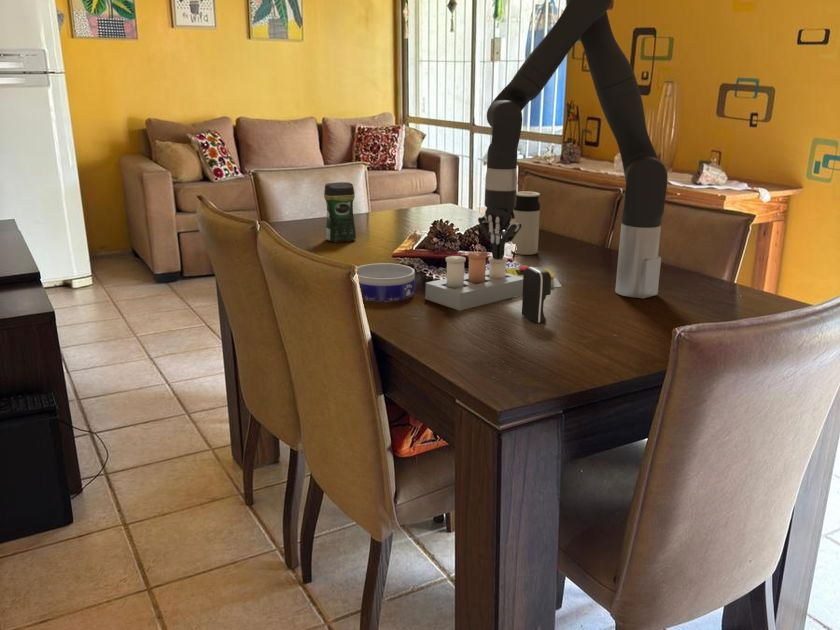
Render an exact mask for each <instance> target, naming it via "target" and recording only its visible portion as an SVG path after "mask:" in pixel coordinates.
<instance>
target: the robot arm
mask: <svg viewBox="0 0 840 630" xmlns="http://www.w3.org/2000/svg"><path fill="white" fill-rule="evenodd" d="M612 2H613V0H565V8H564V9H563V11H562V13H561V14H560V16H559V17H558V19H557V21H555V23H554V25H553V26H552V27H551V28H550V30H549V31H548V33H547V34H546V35H545V36H544V37H543V38H542V40H541V41H540V42H539V43H538V44H537V45H536V47H534V48H533V50H532V51H531V53H530V54H529V56H528V57H526V59H525V60H524V62H523V63H522V64H521V66H520V67H519V69H518V70H517V71H516V73H515V75H514V76H513V77H512V79H511V81H509V83H508V84H507V85H506V86H504V88H503V89H502V90H501V91H500V92H499V93H498V94H497V95H496V97H495V98H494V99H493V101H492V102H491V104H490V105H489V106H488V109H487V111H486V121H487V123H488V125H489V126H490V127H491V128H492V130H491V131H492V132H491V142H490V144H489V145H488V148H487V156H486V158H487V159H486V173H485V179H484V181H485V182H484V183H485V184H484V186H485V187H484V204H483V205H484V206H485V208H486V209H485V212H484V215H483V216H481V217H479V218H478V219H477V222H478V223H479V226H480V228H481V230H482V232H483V235H484V236H485V239H486V240H489V241H490V242H491V257H493V258H494V259H502V258H503V257H504V256H505V250H506V249H505V248H506V247H505V246H506V244H507V243H511V242H512V240H513V238H514V237H515V235H516V234H517V233H518V231H519V230H520V229H521V227H522V225H521V224H520V223H518V224H517V222H516V221H515V220H514V218H515V215H514V211H513V210H514V208H515V206H516V195H517V192H518V190H517V189H518V171H517V170H518V146H519V144H520V143H519V142H520V140H521V139H520V138H521V132H522V129H523V110H524V108H525V107H526V106H527V104H528V103H530V102H531V101H533V100H535V98H537V97H538V96H539V95H540V93H541V92H542V91H543V89H544V88H545V86H546V85H547V84H548V82H549V81H550V80H551V78H553V77H552V76H553V75H554V74H555V73H556V71H557V70H558V68H559V67H560V65H561V64H562V63H563V61H564V59H565V58H566V56H567V55H568V54H569V53H570V51H571V50H572V48H573V47H574V46H575V44H576V43H577V42H578V40H580V42H581V45H582V48H583V50H584V51H583V52H584V53H585V57H586V61H587V62H586V63H587V66H588V69H589V73H590V75H591V79H592V82H593V86H594V89H595V92H596V95H597V99H598V101H599V104H600V107H601V109H602V112H603V114H604V117H605V120H606V122H607V124H608V126H609V128H610V131H611V132H612V134H613V137H614V138H615V142H616V144H617V147H618V150H619V155H620V160H621V163H622V168H623V175H624V179H625V193H624V202H623V209H622V214H621V226H620V235H619V247H618V257H617V267H616V280H615V281H616V282H615V290H614V291H615V293H616V294H618V295H620V296H622V297H629V298H639V299H646V298H650V297H654V296H657V295H658V293H659V283H660V281H659V280H660V274H661V273H660V272H661V263H662V257H661V256H659V249H660V239H661V231H662V230H661V228H662V227H661V226H662V220H663V216H664V213H665V212H664V211H665V205H666V198H667V189H668V171H667V168H666V166H665V165H664V164H663V162H662V161H660V159H659V157H658V155H657V153H656V150H655V147H654V146H653V143H652V141H651V138H650V135H649V133H648V130H647V129H648V128H647V124H646V115H645V110H644V105H643V104H644V103H643V100H642V99H643V98H642V95H641V90H640V87H639V84H638V81H637V78H636V76H635V75H636V74H635V72H634V70H633V67H632V65H631V63H630V61H629V59H628V58H627V56H626V54H625V53H624V51H623V50H622V48H621V47H620V45H619V44H618V42H617V41H616V39H615V36H614V34H613V31H612V27H611V24H610V20H609V17H608V15H609V14H608V10H609V9H610V6H611V5H612Z"/></svg>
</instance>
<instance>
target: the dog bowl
mask: <svg viewBox="0 0 840 630" xmlns="http://www.w3.org/2000/svg"><path fill="white" fill-rule="evenodd" d="M356 267H357V268H358V278H359V284H360V288H361V292H362V297H363V300H362V301H364V300H365V302H370V301H382V302H381V303H385V302H384V301H396V302H400V301H399V300H402V301H405V300H404V299H406V300H408V299H407V298H409V299H410V297H411V298H412V297H413V296H414V295H415V282H416V281H415V279H416V271H415V269H414V268H412V267H411V266H408V265H405V264H404V265H403V264H400V263H399V264H398V263H388V262H386V263H385V262H384V263H383V262H380V263H369V264H363V265H359V266H356Z"/></svg>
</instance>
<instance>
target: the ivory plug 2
mask: <svg viewBox="0 0 840 630" xmlns="http://www.w3.org/2000/svg"><path fill="white" fill-rule="evenodd" d="M488 262H489V267H488V268H489V269H488V270H489V278H493V279H496V280H498V279H503V278H505V275H506V269H507V263H508V257H503V258H502V259H494V258H493V256H490V257H488Z"/></svg>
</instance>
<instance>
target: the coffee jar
mask: <svg viewBox="0 0 840 630" xmlns="http://www.w3.org/2000/svg"><path fill="white" fill-rule="evenodd" d="M355 195H356V194H355V188H354V184H353V183H351V182H347V181H346V182H343V181H341V182H340V181H339V182H338V181H337V182H329V183H325V185H324V193H323V197H324V200H325V202H326V220H325V221H326V223H325V239H326V241H327V240H328V242H331V241H333V242H332V243H339V242H338V241H348V242H353V241H355V240H356V239H357V231H356V226H355V217H354V199H355V198H356V197H355ZM352 240H353V241H352ZM335 241H337V242H335Z"/></svg>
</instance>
